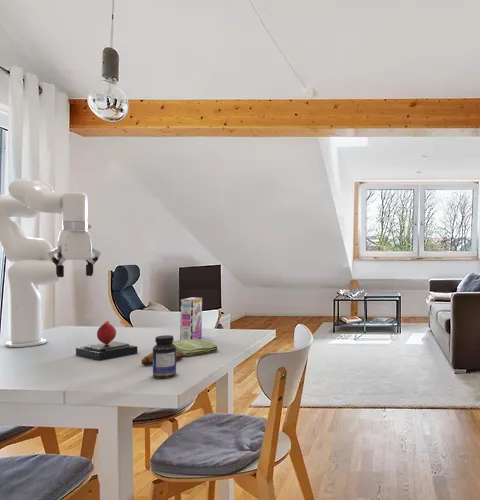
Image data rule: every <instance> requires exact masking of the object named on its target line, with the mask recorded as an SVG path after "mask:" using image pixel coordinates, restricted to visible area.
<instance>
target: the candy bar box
mask: <svg viewBox="0 0 480 500" xmlns="http://www.w3.org/2000/svg"><path fill="white" fill-rule="evenodd" d="M202 322H203V297H197V296H196V297H188V298H183V299H180V326H179V328H180V332H179V341H180V340H188V339H201V338H202V337H203V336H202V334H203V332H202V331H203V329H202V327H203V323H202Z"/></svg>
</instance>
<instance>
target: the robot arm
mask: <svg viewBox="0 0 480 500" xmlns="http://www.w3.org/2000/svg"><path fill="white" fill-rule="evenodd" d="M7 189H8V193H9V194H0V247H1V249H2V251H3V254H4V256H5V258H6V259H7V260H8V261H9V262H12V263H11V264H10V265H9V267H8V269H7V278H8V282H9V288H10V306H11V307H10V341H7V342H6V343H5V347H9V348H25V347H34V346H41V345H43V344H46V343H47V339H46V338H42V294H41V293H40V292H39V290H38V289H37V287H36V286H47V285H54V284H57V283H59V282H60V281H61V279H62V278H64V277H65V265H63V264H64V263H65V262H66V261H67V260H68V261H69V260H70V261H71V260H73V261H75V260H84V261H85V263H86V265H85V276H87V277H92V276H93V274H94V265H95V264H96V262H98V261H99V258H100V256H101V253H102V252H100V251H99V250H96V249H95V248H93V247H92V245H93V244H92V238H91V233H90V231H89V229H92V225H91V224H89V222H88V194H87V193H86V192H83V191H75V190H69V191H65V192H62V191H55V190H54V187H53V186H52V185H51V184H50V183H49V182H47V181H42V180H36V179H35V180H34V179H26V178H18V179H14V180H12V182H10V183H9V184H8V188H7ZM41 213H46V214H48V213H49V214H60V215H62V230H60V231H59V232H58V238H57V243H56V244H57V245H56V248H53V246H52V244H51V243H50V242H49V241H48V240H47V239H44V238H41V237H39V238H38V237H28V236H26V234H25V232H24V229H23V228H22V226H21V225H20V224H19V223H18V222H16V221H15V220H14V219H12V218H22V219H25V218H26V219H30V218H32V219H33V218H36V217H37V216H38V215H40V214H41Z"/></svg>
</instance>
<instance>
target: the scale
mask: <svg viewBox="0 0 480 500" xmlns="http://www.w3.org/2000/svg"><path fill="white" fill-rule="evenodd" d="M137 354H138V345H131V344H129V346H124V347H118V348H113V349H107V350H104V351H97V350H93V349H88V348H84V346H80V347H75V356H78V357H82V358H87V359H91V360H95V361H104V360H112V359H115V358H121V357H125V356H131V355H137Z"/></svg>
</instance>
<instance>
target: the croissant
mask: <svg viewBox="0 0 480 500" xmlns="http://www.w3.org/2000/svg"><path fill="white" fill-rule="evenodd" d="M184 357H185V356H184V355H183V353H182V352H180V351H177V350H176V361H178V360H181V359H183V358H184ZM140 362H141V365H142V366H149V365H153V352H151V353H148V354H147V355H146V356H144V357H143V358H142V359H141V361H140Z"/></svg>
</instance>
